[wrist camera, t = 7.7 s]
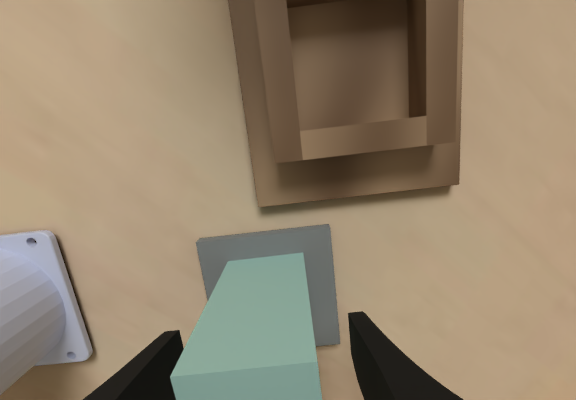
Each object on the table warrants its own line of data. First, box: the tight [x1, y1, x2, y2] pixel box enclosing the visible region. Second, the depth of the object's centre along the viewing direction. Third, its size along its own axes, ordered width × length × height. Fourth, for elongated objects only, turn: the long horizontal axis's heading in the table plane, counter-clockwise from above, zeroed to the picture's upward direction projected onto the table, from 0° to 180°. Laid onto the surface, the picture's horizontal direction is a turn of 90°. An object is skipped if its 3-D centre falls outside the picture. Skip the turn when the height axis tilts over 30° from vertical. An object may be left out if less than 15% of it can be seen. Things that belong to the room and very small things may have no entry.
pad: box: [196, 224, 340, 346], centre depth 15 cm, size 7×7×1 cm
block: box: [170, 253, 322, 400], centre depth 11 cm, size 4×4×7 cm
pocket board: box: [228, 0, 464, 207], centre depth 11 cm, size 10×12×2 cm
